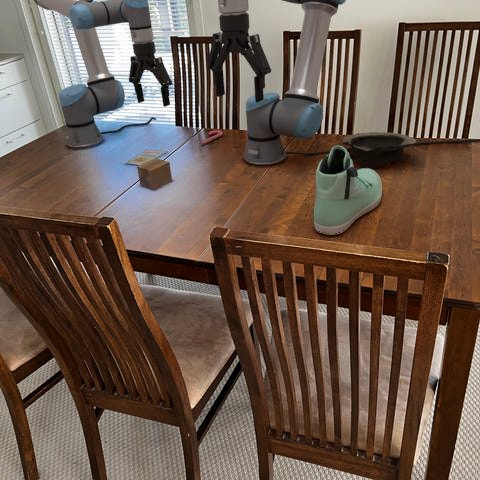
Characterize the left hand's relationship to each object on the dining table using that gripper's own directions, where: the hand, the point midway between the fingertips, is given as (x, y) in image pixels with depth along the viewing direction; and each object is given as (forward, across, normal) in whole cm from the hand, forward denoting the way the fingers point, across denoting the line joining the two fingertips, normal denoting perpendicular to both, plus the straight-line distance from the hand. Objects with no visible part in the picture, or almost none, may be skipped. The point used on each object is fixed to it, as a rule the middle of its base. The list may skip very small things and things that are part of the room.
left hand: (153, 103), depth 176 cm
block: (+20, +17, -20) cm, 33 cm away
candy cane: (+20, +5, +23) cm, 31 cm away
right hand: (-10, +52, -15) cm, 56 cm away
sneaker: (+21, +81, -4) cm, 84 cm away
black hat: (+21, +72, +34) cm, 83 cm away
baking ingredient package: (+20, -4, -5) cm, 21 cm away
